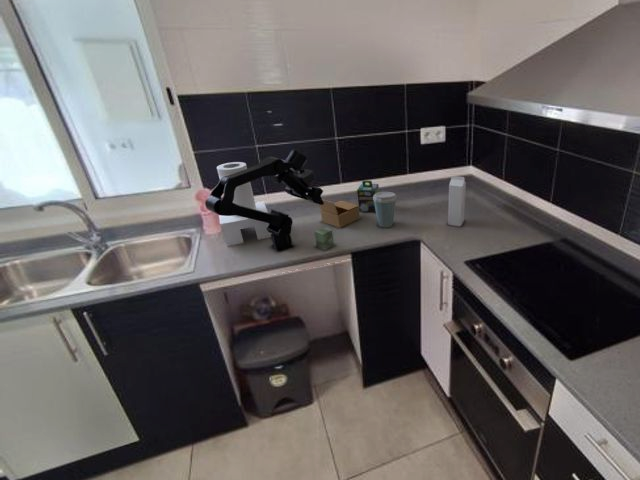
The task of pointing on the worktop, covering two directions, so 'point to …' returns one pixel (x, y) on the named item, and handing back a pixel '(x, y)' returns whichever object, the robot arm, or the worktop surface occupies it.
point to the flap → (328, 206)
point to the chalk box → (367, 196)
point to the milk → (456, 201)
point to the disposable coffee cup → (385, 208)
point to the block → (324, 238)
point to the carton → (341, 214)
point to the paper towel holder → (242, 198)
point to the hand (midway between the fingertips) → (316, 201)
